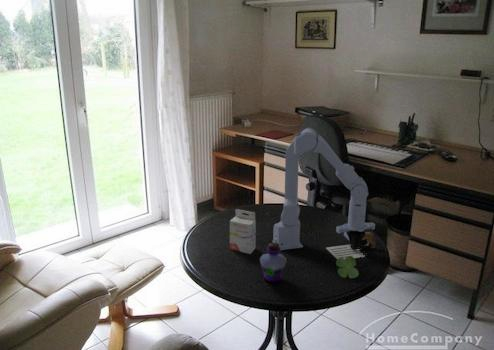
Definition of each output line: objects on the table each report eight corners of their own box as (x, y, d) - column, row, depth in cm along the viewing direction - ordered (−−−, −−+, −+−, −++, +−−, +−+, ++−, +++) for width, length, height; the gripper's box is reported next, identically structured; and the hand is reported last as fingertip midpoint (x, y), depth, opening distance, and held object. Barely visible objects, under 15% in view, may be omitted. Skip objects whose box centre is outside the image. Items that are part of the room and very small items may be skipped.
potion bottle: (260, 285, 126) (261, 250, 123) (258, 271, 135) (258, 238, 131) (288, 285, 127) (289, 250, 124) (284, 271, 135) (285, 237, 132)
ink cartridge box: (229, 250, 150) (228, 212, 146) (235, 244, 154) (234, 208, 150) (250, 254, 146) (250, 216, 142) (256, 249, 150) (256, 211, 146)
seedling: (348, 285, 136) (349, 284, 130) (330, 267, 138) (330, 266, 132) (363, 269, 136) (365, 268, 130) (344, 252, 139) (345, 250, 133)
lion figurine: (345, 245, 150) (347, 225, 150) (343, 243, 154) (345, 224, 154) (378, 248, 150) (380, 229, 149) (375, 246, 154) (377, 227, 154)
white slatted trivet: (338, 260, 142) (338, 259, 142) (325, 248, 151) (325, 247, 151) (369, 256, 145) (369, 255, 145) (354, 244, 155) (354, 243, 155)
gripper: (344, 220, 139) (341, 256, 143) (381, 216, 143) (377, 251, 147) (334, 212, 146) (332, 247, 150) (370, 209, 150) (366, 242, 154)
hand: (353, 248), depth 149 cm, fingers closed
